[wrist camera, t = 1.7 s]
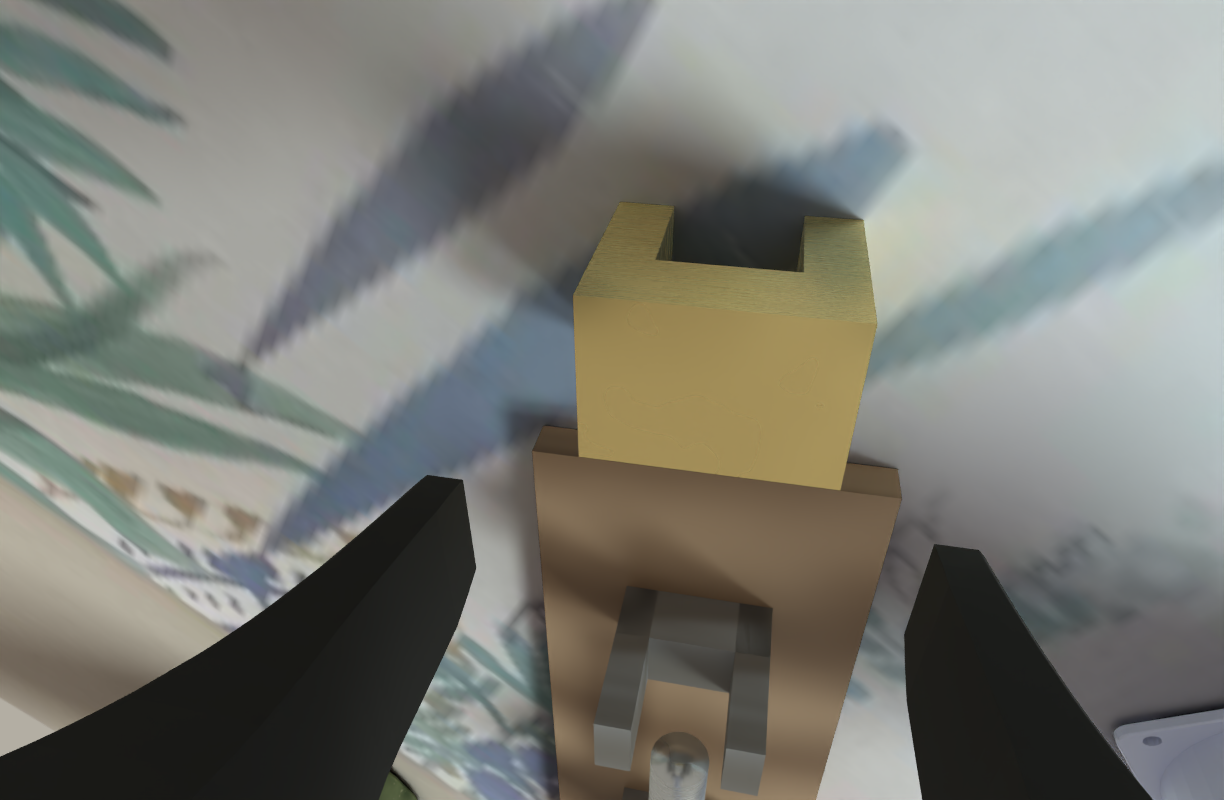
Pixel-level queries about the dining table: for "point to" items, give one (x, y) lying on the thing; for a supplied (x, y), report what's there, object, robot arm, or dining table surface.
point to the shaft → (678, 768)
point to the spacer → (723, 353)
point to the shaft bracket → (702, 617)
